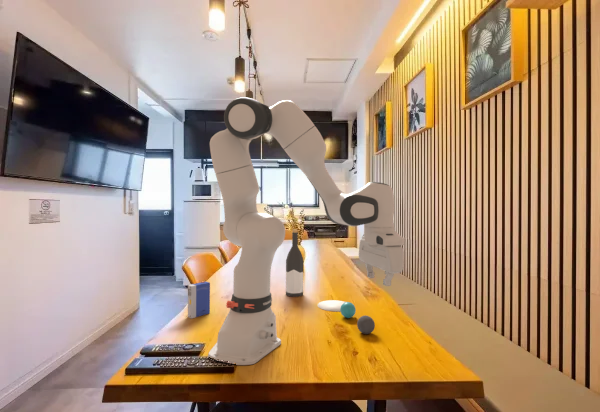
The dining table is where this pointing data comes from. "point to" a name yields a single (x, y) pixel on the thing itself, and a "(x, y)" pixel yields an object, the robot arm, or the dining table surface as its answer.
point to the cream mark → (331, 305)
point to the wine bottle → (294, 269)
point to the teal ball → (347, 309)
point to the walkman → (198, 299)
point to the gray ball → (365, 324)
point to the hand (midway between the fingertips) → (378, 281)
